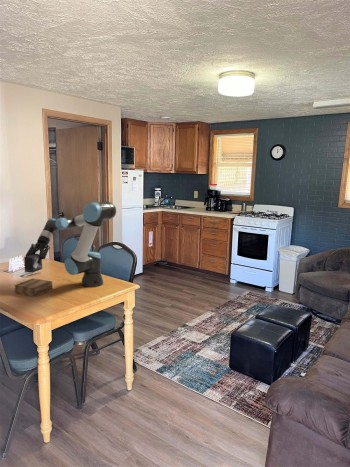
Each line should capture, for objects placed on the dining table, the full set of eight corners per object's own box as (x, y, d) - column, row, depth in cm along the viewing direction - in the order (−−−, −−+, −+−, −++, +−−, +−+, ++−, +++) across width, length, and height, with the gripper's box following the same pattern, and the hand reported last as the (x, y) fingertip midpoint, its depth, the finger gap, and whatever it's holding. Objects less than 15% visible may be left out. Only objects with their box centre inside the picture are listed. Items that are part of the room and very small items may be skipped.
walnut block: (52, 289, 229) (52, 281, 228) (35, 297, 214) (35, 288, 213) (32, 286, 234) (32, 278, 233) (15, 293, 219) (14, 285, 218)
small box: (33, 273, 221) (32, 257, 219) (24, 272, 223) (23, 256, 221) (43, 268, 231) (42, 253, 230) (34, 268, 233) (33, 253, 231)
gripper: (59, 242, 236) (45, 271, 223) (35, 240, 241) (20, 268, 229) (54, 236, 230) (39, 265, 217) (30, 234, 235) (14, 262, 223)
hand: (30, 266), depth 223 cm, fingers closed on small box, 6 cm apart
